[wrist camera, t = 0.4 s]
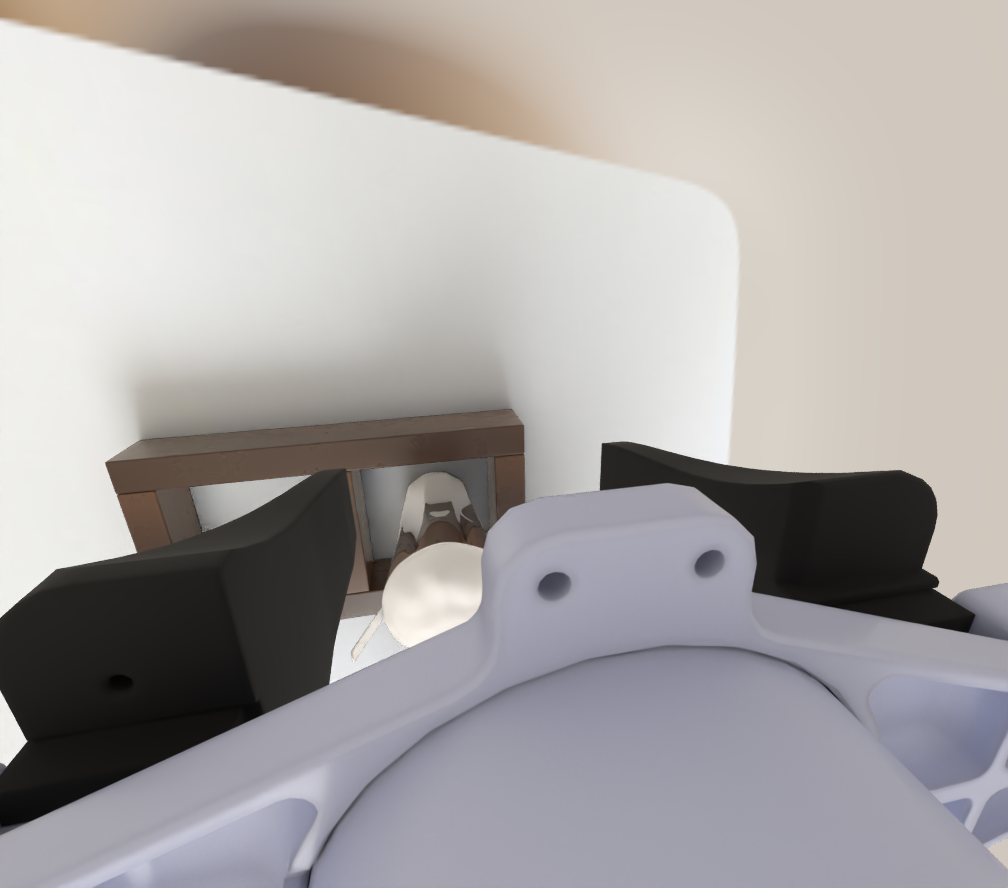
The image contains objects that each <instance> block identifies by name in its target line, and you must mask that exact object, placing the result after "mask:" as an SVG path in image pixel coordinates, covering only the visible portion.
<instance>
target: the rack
mask: <svg viewBox="0 0 1008 888" xmlns="http://www.w3.org/2000/svg"><path fill="white" fill-rule="evenodd" d="M484 457H487V470H488V491H489V511H490V529H491V528H492V527H493V526H494V524H495V523H496V522H497V521H498V520H499V519H500V518H501V517H502V516H503V515H504V514H505V513H506V512H507V511H508V510H509V509H510V508H513V507H515V506H518V505H521V504H524V503H525V461H524V425H523V423H522V422H521V420H520V419H519V418H518V416H517V415H516V414H515V412H514V411H513V410H512V409H507V410H495V411H483V412H471V413H459V414H447V415H435V416H423V417H411V418H399V419H387V420H375V421H363V422H352V423H340V424H328V425H316V426H304V427H292V428H280V429H268V430H256V431H244V432H232V433H220V434H208V435H196V436H184V437H172V438H160V439H149V440H140V441H138V442H136V443H135V444H133V445H132V446H130V447H129V448H127V449H125V450H124V451H122V452H121V453H119V454H118V455H116V456H114V457H113V458H111V459H110V460H108V461H107V462H105V464H106V467H107V470H108V473H109V475H110V478H111V481H112V484H113V487H114V489H115V492H116V494H118V495H117V497H118V500H119V503H120V506H121V508H122V511H123V514H124V517H125V520H126V522H127V525H128V528H129V531H130V533H131V536H132V539H133V542H134V545H135V547H136V550H137V553H139V552H143V551H147V550H151V549H155V548H158V547H162V546H165V545H169V544H172V543H175V542H178V541H182V540H184V539H187V538H190V537H193V536H195V535H198V534H201V533H202V531H201V527H200V524H199V521H198V517H197V514H196V511H195V507H194V504H193V500H192V497H191V494H190V490H189V487H193V486H203V485H213V484H223V483H233V482H243V481H253V480H263V479H273V478H283V477H293V476H303V475H313V474H315V473H317V472H319V471H322V470H331V469H341V468H346V471H347V478H348V484H349V490H350V497H351V503H352V509H353V515H354V522H355V528H356V534H357V536H356V549H355V559H354V566H353V571H352V575H351V579H350V583H349V587H348V591H347V595H346V598H345V602H344V606H343V610H342V614H341V618H340V619H347V618H354V617H360V616H367V615H374V614H377V613H378V612H379V610H380V609H381V607H382V597H383V592H384V588H385V584H386V580H387V576H388V572H389V568H390V564H391V560H392V558H391V559H384V560H376V561H374V558H373V552H372V545H371V539H370V532H369V526H368V519H367V512H366V506H365V499H364V493H363V486H362V479H361V473H360V470H364V469H374V468H384V467H394V466H404V465H414V464H424V463H434V462H444V461H454V460H464V459H474V458H484Z"/></svg>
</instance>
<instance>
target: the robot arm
mask: <svg viewBox="0 0 1008 888" xmlns="http://www.w3.org/2000/svg"><path fill="white" fill-rule="evenodd" d="M936 520H937V502H936V498H935V495H934V493H933V491H932V489H931V487H930V486H929V485H928V484H927V483H926V482H925V481H924V480H923V479H920V478H918V477H916V476H913V475H911V474H909V473H906V472H904V471H902V470H893V471H872V472H854V473H798V472H796V473H795V472H781V471H767V470H758V469H749V468H742V467H736V466H730V465H724V464H718V463H713V462H709V461H704V460H700V459H695V458H691V457H687V456H683V455H679V454H676V453H672V452H668V451H665V450H661V449H657V448H653V447H650V446H646V445H642V444H637V443H632V442H612V443H602V453H601V475H600V491H594V492H585V493H576V494H567V495H558V496H550V497H541V498H538V499H535V500H532V501H529V502H527V503H524V504H521V505H518V506H515V507H513V508H510V509H509V510H508V511H507V512H506V513H505V514H504V515H503V516H502V517H501V518H500V519H499V520H498V521H497V522H496V523H495V524H494V526H493V527H492V528H491V529H490V530H489V531H488V533H487V537H486V541H485V545H484V549H483V553H482V557H481V570H482V598H481V603H480V606H479V608H478V610H477V612H476V613H475V614H474V615H473V616H472V617H471V618H470V619H469V620H468V621H467V622H464V623H462V624H460V625H458V626H456V627H453V628H451V629H449V630H447V631H445V632H443V633H440V634H438V635H436V636H434V637H432V638H429V639H427V640H425V641H423V642H421V643H419V644H416V645H414V646H412V647H410V648H408V649H405V650H403V651H401V652H399V653H397V654H395V655H392V656H390V657H388V658H386V659H384V660H382V661H379V662H377V663H375V664H373V665H371V666H368V667H366V668H364V669H362V670H360V671H358V672H355V673H353V674H351V675H349V676H347V677H344V678H342V679H340V680H338V681H336V682H334V683H331V684H329V681H330V674H331V666H332V658H333V650H334V644H335V639H336V634H337V630H338V626H339V622H340V618H341V614H342V610H343V606H344V602H345V598H346V595H347V591H348V587H349V583H350V579H351V575H352V571H353V566H354V559H355V549H356V536H357V534H356V528H355V522H354V515H353V509H352V503H351V497H350V490H349V484H348V478H347V471H346V468H341V469H331V470H322V471H319V472H317V473H315V474H313V475H311V476H310V477H308V478H307V479H305V480H303V481H302V482H300V483H299V484H297V485H296V486H294V487H293V488H291V489H289V490H288V491H286V492H285V493H283V494H282V495H280V496H278V497H277V498H275V499H273V500H271V501H270V502H268V503H266V504H264V505H263V506H261V507H259V508H258V509H256V510H254V511H252V512H250V513H248V514H246V515H244V516H242V517H240V518H238V519H236V520H233V521H231V522H229V523H227V524H224V525H222V526H220V527H217V528H215V529H212V530H209V531H207V532H204V533H201V534H198V535H195V536H193V537H190V538H187V539H184V540H182V541H178V542H175V543H172V544H169V545H165V546H162V547H158V548H155V549H151V550H147V551H143V552H139V553H135V554H131V555H127V556H123V557H119V558H114V559H108V560H103V561H98V562H93V563H88V564H83V565H78V566H73V567H67V568H61V569H56V570H55V571H54V572H53V573H52V574H50V575H49V576H48V577H47V578H46V579H45V580H44V581H42V582H41V583H40V584H39V585H38V586H37V587H35V588H34V589H33V590H32V591H31V592H29V593H28V594H27V595H26V596H25V597H24V598H22V599H21V600H20V601H19V602H18V603H16V604H15V605H14V606H13V607H12V608H11V609H10V610H9V611H8V612H6V613H5V614H4V615H3V616H2V617H1V618H0V691H1V693H2V694H3V696H4V698H5V700H6V702H7V704H8V706H9V708H10V710H11V711H12V713H13V715H14V717H15V719H16V721H17V723H18V725H19V727H20V728H21V730H22V732H23V734H24V736H25V738H26V740H27V741H28V742H27V743H26V744H25V745H24V746H23V748H22V749H21V750H20V751H19V753H18V754H17V755H16V756H15V757H14V759H13V760H12V761H11V762H10V764H9V765H8V766H7V767H6V766H5V765H4V764H2V763H0V888H1008V869H1007V868H1006V867H1005V866H1004V865H1003V864H1002V863H1001V862H1000V861H999V860H998V859H997V858H996V857H995V856H994V855H993V854H992V853H991V852H990V851H989V850H988V849H987V848H988V847H990V846H992V845H994V844H996V843H998V842H1000V841H1002V840H1004V839H1006V838H1008V583H1004V584H998V585H992V586H987V587H981V588H976V589H969V590H965V591H963V592H961V593H959V594H958V595H956V596H955V597H954V598H953V599H952V600H950V599H949V598H947V597H946V596H944V595H942V594H941V593H939V592H937V591H936V590H934V589H933V588H936V587H938V584H939V580H938V578H937V577H936V576H934V575H932V574H930V573H929V572H927V571H925V570H924V569H922V566H923V563H924V560H925V557H926V554H927V551H928V548H929V545H930V542H931V539H932V535H933V533H934V529H935V525H936Z"/></svg>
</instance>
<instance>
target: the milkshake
mask: <svg viewBox="0 0 1008 888" xmlns="http://www.w3.org/2000/svg"><path fill="white" fill-rule="evenodd" d="M486 537H487V535H486V534H485V532H484V530H483V528H482V526H481V524H480V522H479V520H478V518H477V515H476V513H475V511H474V508H473V506H472V504H471V501H470V499H469V497H468V494H467V492H466V489H465V487H464V485H463V482H462V481H461V480H459V479H457V478H455V477H453V476H452V475H450V474H448V473H446V472H436V473H424V474H423V475H422V476H421V477H419V478H418V479H417V480H416V481H414V482H413V483H412V484H410V485H409V486H408V490H407V494H406V498H405V501H404V505H403V510H402V516H401V521H400V526H399V532H398V537H397V543H396V547H395V550H394V553H393V556H392V560H391V564H390V568H389V572H388V576H387V580H386V584H385V588H384V592H383V597H382V607H381V609H380V610H379V612H378V613H377V614H376V616H375V617H374V619H373V620H372V622H371V623H370V625H369V626H368V627H367V629H366V630H365V632H364V633H363V635H362V636H361V638H360V639H359V640H358V642H357V643H356V645H355V646H354V648H353V649H352V651H351V656H352V661H353V662H355V660H356V659H357V657H358V656H359V654H360V653H361V651H362V650H363V648H364V647H365V645H366V644H367V642H368V641H369V639H370V638H371V636H372V635H373V633H374V632H375V630H376V629H377V627H378V626H379V624H380V623H381V621H382V620H383V618H384V620H385V622H386V625H387V627H388V629H389V631H390V632H391V634H392V635H393V636H394V638H395V639H396V640H398V641H399V642H400V643H401V644H403V645H404V646H406V647H408V648H410V647H412V646H414V645H416V644H419V643H421V642H423V641H425V640H427V639H429V638H432V637H434V636H436V635H438V634H440V633H443V632H445V631H447V630H449V629H451V628H453V627H456V626H458V625H460V624H462V623H464V622H467V621H468V620H469V619H470V618H471V617H472V616H473V615H474V614H475V613H476V612H477V610H478V608H479V606H480V603H481V598H482V570H481V557H482V553H483V549H484V545H485V541H486Z"/></svg>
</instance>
